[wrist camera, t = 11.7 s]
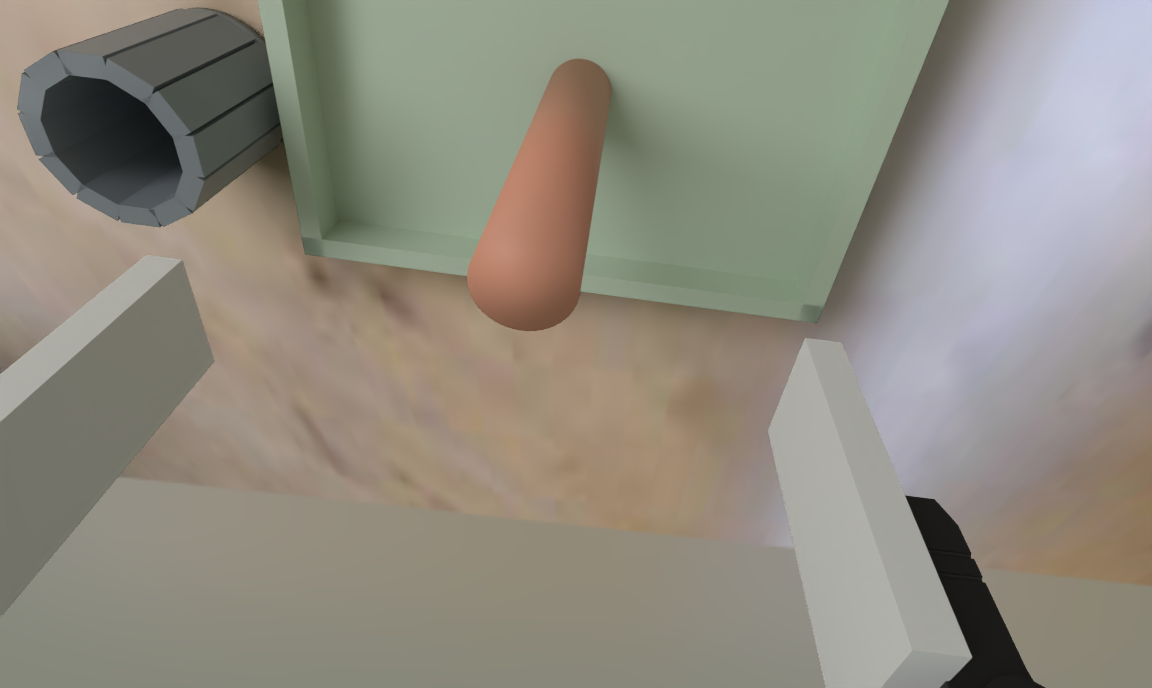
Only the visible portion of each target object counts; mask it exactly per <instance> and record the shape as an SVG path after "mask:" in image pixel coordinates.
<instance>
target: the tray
mask: <svg viewBox="0 0 1152 688" xmlns="http://www.w3.org/2000/svg"><path fill="white" fill-rule="evenodd" d="M948 2H949V0H258V5H259V10H260V15H261V21H262V26H263V32H264V37H265V42H266V48H267V53H268V58H269V64H270V69H271V74H272V80H273V85H274V91H275V96H276V101H277V107H278V112H279V117H280V123H281V128H282V134H283V139H284V144H285V150H286V155H287V160H288V166H289V171H290V177H291V182H292V187H293V193H294V198H295V203H296V209H297V214H298V220H299V225H300V230H301V236H302V241H303V246H304V252H305V254H306V255H314V256H321V257H329V258H336V259H343V260H351V261H358V262H366V263H373V264H381V265H388V266H395V267H403V268H410V269H418V270H425V271H433V272H440V273H447V274H455V275H462V276H467V272H468V267H469V264H470V261H471V259H472V256H473V254H474V252H475V250H476V247H477V245H478V243H479V240H480V238H481V236H482V234H483V231H484V229H485V227H486V224H487V222H488V220H489V218H490V215H491V213H492V211H493V208H494V206H495V204H496V202H497V199H498V197H499V195H500V192H501V190H502V188H503V186H504V183H505V181H506V179H507V176H508V174H509V172H510V170H511V167H512V165H513V163H514V160H515V158H516V156H517V154H518V151H519V149H520V147H521V144H522V142H523V140H524V138H525V135H526V133H527V131H528V128H529V126H530V124H531V122H532V119H533V117H534V115H535V112H536V110H537V108H538V106H539V103H540V101H541V99H542V96H543V94H544V92H545V90H546V87H547V85H548V83H549V81H550V78H551V76H552V74H553V72H554V71H555V70H556V69H557V68H558V67H559V66H560V65H561V64H562V63H564V62H566V61H568V60H572V59H586V60H590V61H592V62H594V63H596V64H597V65H599V66H600V67H601V68H602V69H603V70H604V72H605V73H606V75H607V77H608V79H609V81H610V85H611V99H610V106H609V112H608V118H607V125H606V131H605V137H604V144H603V150H602V157H601V163H600V169H599V176H598V182H597V188H596V195H595V201H594V207H593V214H592V220H591V227H590V233H589V239H588V246H587V252H586V258H585V265H584V271H583V277H582V284H581V290H580V291H581V292H589V293H596V294H603V295H611V296H618V297H626V298H633V299H641V300H648V301H656V302H663V303H670V304H678V305H685V306H693V307H700V308H708V309H715V310H722V311H730V312H737V313H745V314H752V315H760V316H767V317H774V318H782V319H789V320H797V321H804V322H812V323H817V322H818V320H819V317H820V315H821V312H822V310H823V307H824V305H825V303H826V300H827V298H828V295H829V293H830V290H831V288H832V285H833V283H834V281H835V278H836V276H837V273H838V271H839V268H840V266H841V263H842V261H843V259H844V256H845V254H846V251H847V249H848V246H849V244H850V241H851V239H852V237H853V234H854V232H855V229H856V227H857V224H858V222H859V219H860V217H861V215H862V212H863V210H864V207H865V205H866V202H867V200H868V197H869V195H870V193H871V190H872V188H873V185H874V183H875V180H876V178H877V176H878V173H879V171H880V168H881V166H882V163H883V161H884V158H885V156H886V154H887V151H888V149H889V146H890V144H891V141H892V139H893V136H894V134H895V132H896V129H897V127H898V124H899V122H900V119H901V117H902V114H903V112H904V110H905V107H906V105H907V102H908V100H909V97H910V95H911V92H912V90H913V88H914V85H915V83H916V80H917V78H918V75H919V73H920V70H921V68H922V66H923V63H924V61H925V58H926V56H927V53H928V51H929V48H930V46H931V44H932V41H933V39H934V36H935V34H936V31H937V29H938V27H939V24H940V22H941V19H942V17H943V14H944V12H945V9H946V7H947V5H948Z"/></svg>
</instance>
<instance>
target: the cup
mask: <svg viewBox="0 0 1152 688" xmlns="http://www.w3.org/2000/svg"><path fill="white" fill-rule="evenodd" d="M24 71H25V72H24V73H22V76H21V84H20V91H19V98H18V106H17V110H19V111H20V113H18V115H19V118H20V120H21V122H22V125H23V127H24V129H25V132H26V134H27V136H28V138H29V141H30V143H31V145H32V148H33V150H34V152H35V155H37V156H44V157H42V158H40V159H39V160H40V161H41V162H42V163H43V164H44V166H45V167H46V168H47V169H48V170H49V171H50V172H51V173H52V174H53V175H54V176H55V177H56V178H57V179H58V180H59V181H60V182H61V183H62V185H63V186H64V187H65V188H66V189H67V190H68V191H69V192H70V193H71V194H72V195H74V194H76V193H78V194H77V199H79V200H81V201H82V202H84V203H86V204H88V205H90V206H91V207H93V208H95V209H97V210H99V211H101V212H102V213H104V214H106V215H108V216H110V217H111V218H113V219H115V220H117V221H118V220H119V219H120V220H121V222H124V223H131V224H138V225H146V226H153V227H161V226H163V227H164V226H166V225H169V224H171V223H173V222H175V221H177V220H179V219H181V218H183V217H185V216H187V215H190V214H192V213H193V212H194V211H195V210H197V209H198V208H199V207H200V206H202V205H203V204H204V203H205V202H207V201H208V200H209V199H211V198H212V197H213V196H214V195H216V194H217V193H218V192H219V191H221V190H222V189H223V188H224V187H226V186H227V185H228V184H230V183H231V182H232V181H233V180H235V179H236V178H237V177H238V176H240V175H241V174H242V173H243V172H245V171H246V170H247V169H248V168H250V167H251V166H252V165H254V164H255V163H256V162H257V161H259V160H260V159H261V158H262V157H264V156H265V155H266V154H267V153H269V152H270V151H271V150H272V149H274V148H275V147H276V146H277V145H278V144H279V142H280V140H281V139H282V138H283V134H282V128H281V123H280V117H279V112H278V107H277V101H276V96H275V91H274V85H273V80H272V74H271V69H270V64H269V58H268V53H267V48H266V42H265V40H264V39H263V38H262V37H261V36H260V35H258V34H257V33H256V32H255V31H254V30H253V29H252V28H250V27H249V26H248V25H246V24H245V23H243V22H242V21H240V20H238V19H237V18H235V17H233V16H230V15H228V14H226V13H223V12H220V11H217V10H213V9H208V8H188V9H176V10H173V11H171V12H168V13H165V14H162V15H159V16H156V17H153V18H150V19H147V20H144V21H141V22H138V23H135V24H132V25H129V26H126V27H123V28H120V29H117V30H114V31H111V32H108V33H105V34H102V35H99V36H96V37H93V38H90V39H87V40H84V41H82V42H79V43H76V44H73V45H70V46H67V47H64V48H61V49H58V50H55V51H52V52H51V53H49V54H48V55H46V56H45V57H43V58H42V59H40V60H39V61H37V62H35V63H34V64H32V65H31V66H29V67H28V68H26V69H25V70H24Z"/></svg>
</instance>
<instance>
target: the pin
mask: <svg viewBox="0 0 1152 688" xmlns="http://www.w3.org/2000/svg"><path fill="white" fill-rule="evenodd" d="M610 99H611V85H610V81H609V79H608V77H607V75H606V73H605V72H604V70H603V69H602V68H601V67H600V66H599V65H597V64H596V63H594V62H592V61H590V60H586V59H572V60H568V61H566V62H564V63H562V64H561V65H560V66H559V67H558V68H557V69H556V70H555V71H554V72H553V74H552V76H551V78H550V81H549V83H548V85H547V87H546V90H545V92H544V94H543V96H542V99H541V101H540V103H539V106H538V108H537V110H536V112H535V115H534V117H533V119H532V122H531V124H530V126H529V128H528V131H527V133H526V135H525V138H524V140H523V142H522V144H521V147H520V149H519V151H518V154H517V156H516V158H515V160H514V163H513V165H512V167H511V170H510V172H509V174H508V176H507V179H506V181H505V183H504V186H503V188H502V190H501V192H500V195H499V197H498V199H497V202H496V204H495V206H494V208H493V211H492V213H491V215H490V218H489V220H488V222H487V224H486V227H485V229H484V231H483V234H482V236H481V238H480V240H479V243H478V245H477V247H476V250H475V252H474V254H473V256H472V259H471V261H470V264H469V267H468V272H467V282H468V287H469V291H470V294H471V296H472V298H473V300H474V302H475V303H476V304H477V306H478V307H479V308H480V309H481V310H482V312H483V313H485V314H486V315H487V316H488V317H489V318H491V319H492V320H494V321H495V322H497V323H499V324H501V325H504V326H506V327H509V328H512V329H517V330H523V331H537V330H543V329H547V328H550V327H553V326H555V325H557V324H559V323H560V322H562V321H563V320H565V319H566V318H567V317H568V316H569V315H570V314H571V313H572V311H573V310H574V308H575V307H576V305H577V302H578V300H579V296H580V290H581V284H582V277H583V271H584V265H585V258H586V252H587V246H588V239H589V233H590V227H591V220H592V214H593V207H594V201H595V195H596V188H597V182H598V176H599V169H600V163H601V157H602V150H603V144H604V137H605V131H606V125H607V118H608V112H609V106H610Z"/></svg>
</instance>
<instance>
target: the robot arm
mask: <svg viewBox="0 0 1152 688" xmlns="http://www.w3.org/2000/svg"><path fill="white" fill-rule="evenodd" d="M213 362H214V358H213V355H212V352H211V348H210V345H209V342H208V339H207V336H206V333H205V330H204V326H203V323H202V320H201V317H200V314H199V311H198V308H197V304H196V301H195V298H194V295H193V292H192V289H191V286H190V282H189V279H188V276H187V273H186V270H185V267H184V264H183V261H182V260H181V259H173V258H165V257H157V256H149V255H146V256H144V257H143V258H142V259H141V260H139V261H138V262H137V263H136V264H134V265H133V266H132V267H131V268H130V269H128V270H127V271H126V272H125V273H123V274H122V275H121V276H120V277H119V278H117V279H116V280H115V281H114V282H112V283H111V284H110V285H109V286H108V287H106V288H105V289H104V290H103V291H101V292H100V293H99V294H98V295H97V296H95V297H94V298H93V299H92V300H90V301H89V302H88V303H87V304H85V305H84V306H83V307H82V308H81V309H79V310H78V311H77V312H76V313H74V314H73V315H72V316H71V317H70V318H68V319H67V320H66V321H65V322H63V323H62V324H61V325H60V326H59V327H57V328H56V329H55V330H54V331H52V332H51V333H50V334H49V335H48V336H46V337H45V338H44V339H43V340H41V341H40V342H39V343H38V344H36V345H35V346H34V347H33V348H32V349H30V350H29V351H28V352H27V353H25V354H24V355H23V356H22V357H21V358H19V359H18V360H17V361H16V362H14V363H13V364H12V365H11V366H10V367H8V368H7V369H6V370H5V371H3V372H2V373H1V374H0V618H1V617H2V615H3V614H4V613H5V612H6V611H7V609H8V608H9V607H10V606H11V605H12V603H13V602H14V601H15V600H16V598H17V597H18V596H19V595H20V594H21V593H22V591H23V590H24V589H25V588H26V587H27V585H28V584H29V583H30V582H31V581H32V579H33V578H34V577H35V576H36V574H37V573H38V572H39V571H40V570H41V569H42V567H43V566H44V565H45V564H46V563H47V561H48V560H49V559H50V558H51V557H52V555H53V554H54V553H55V552H56V551H57V549H58V548H59V547H60V546H61V545H62V544H63V542H64V541H65V540H66V539H67V537H68V536H69V535H70V534H71V533H72V531H73V530H74V529H75V528H76V527H77V526H78V524H79V523H80V522H81V521H82V519H83V518H84V517H85V516H86V515H87V513H88V512H89V511H90V510H91V509H92V507H93V506H94V505H95V504H96V503H97V501H98V500H99V499H100V498H101V496H102V495H103V494H104V493H105V492H106V490H107V489H108V488H109V487H110V486H111V485H112V484H113V482H114V481H115V480H116V479H117V478H118V476H119V475H120V474H121V473H122V472H123V470H124V469H125V468H126V467H127V466H128V464H129V463H130V462H131V461H132V460H133V458H134V457H135V456H136V455H137V454H138V452H139V451H140V450H141V449H142V448H143V446H144V445H145V444H146V443H147V442H148V440H149V439H150V438H151V437H152V436H153V434H154V433H155V432H156V431H157V430H158V428H159V427H160V426H161V425H162V424H163V422H164V421H165V420H166V419H167V418H168V416H169V415H170V414H171V413H172V412H173V410H174V409H175V408H176V407H177V406H178V404H179V403H180V402H181V401H182V400H183V398H184V397H185V396H186V395H187V394H188V392H189V391H190V390H191V389H192V388H193V386H194V385H195V384H196V383H197V382H198V380H199V379H200V378H201V377H202V376H203V374H204V373H205V372H206V371H207V370H208V368H209V367H210V366H211V365H212V364H213ZM768 433H769V438H770V442H771V446H772V451H773V455H774V460H775V464H776V469H777V473H778V478H779V482H780V486H781V491H782V495H783V500H784V504H785V509H786V513H787V518H788V522H789V526H790V531H791V535H792V540H793V544H794V549H795V553H796V558H797V562H798V566H799V571H800V575H801V579H802V584H803V589H804V593H805V597H806V602H807V606H808V611H809V615H810V620H811V624H812V629H813V633H814V638H815V642H816V646H817V651H818V655H819V660H820V664H821V669H822V673H823V678H824V682H825V686H826V688H1045V687H1043V686H1041V685H1039V684H1037V683H1036V682H1034V681H1033V679H1032V678H1031V676H1030V674H1029V673H1028V671H1027V669H1026V667H1025V665H1024V663H1023V661H1022V659H1021V657H1020V655H1019V652H1018V650H1017V648H1016V646H1015V644H1014V642H1013V640H1012V638H1011V636H1010V634H1009V631H1008V629H1007V627H1006V625H1005V623H1004V621H1003V619H1002V617H1001V615H1000V613H999V611H998V608H997V607H996V604H995V602H994V600H993V598H992V596H991V594H990V592H989V589H988V587H987V585H986V583H983V582H982V575H981V573H980V571H979V568H978V566H977V564H976V562H975V560H974V559H971V552H970V550H969V547H968V545H967V543H966V541H965V539H964V537H963V535H962V533H961V531H960V529H959V526H958V525H957V524H956V523H955V521H954V520H953V519H952V518H951V517H950V516H949V515H948V514H947V513H946V512H945V510H944V509H943V508H942V507H941V506H940V505H939V504H938V503H937V502H936V500H935V499H928V498H920V497H912V496H905V494H904V492H903V490H902V487H901V485H900V482H899V480H898V478H897V475H896V473H895V470H894V468H893V465H892V463H891V461H890V458H889V456H888V453H887V451H886V449H885V446H884V444H883V441H882V439H881V437H880V434H879V432H878V429H877V427H876V425H875V422H874V420H873V417H872V415H871V413H870V410H869V408H868V405H867V403H866V401H865V398H864V396H863V393H862V391H861V389H860V386H859V384H858V381H857V379H856V376H855V374H854V372H853V369H852V367H851V364H850V362H849V360H848V357H847V355H846V352H845V350H844V348H843V345H842V343H841V342H833V341H825V340H818V339H810V338H805V339H804V342H803V344H802V347H801V349H800V352H799V354H798V357H797V359H796V362H795V364H794V367H793V369H792V372H791V374H790V377H789V379H788V382H787V384H786V387H785V389H784V392H783V394H782V397H781V399H780V402H779V404H778V407H777V409H776V412H775V414H774V417H773V419H772V422H771V424H770V427H769V429H768Z"/></svg>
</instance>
